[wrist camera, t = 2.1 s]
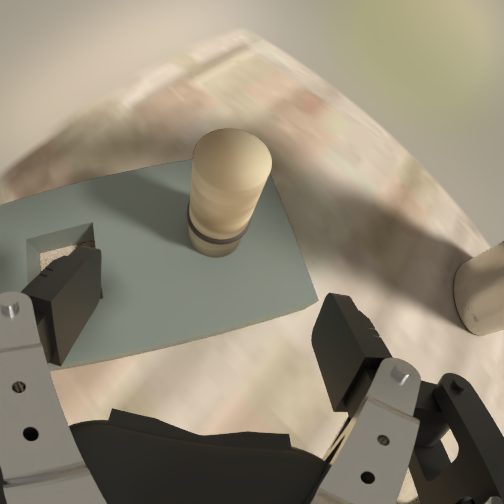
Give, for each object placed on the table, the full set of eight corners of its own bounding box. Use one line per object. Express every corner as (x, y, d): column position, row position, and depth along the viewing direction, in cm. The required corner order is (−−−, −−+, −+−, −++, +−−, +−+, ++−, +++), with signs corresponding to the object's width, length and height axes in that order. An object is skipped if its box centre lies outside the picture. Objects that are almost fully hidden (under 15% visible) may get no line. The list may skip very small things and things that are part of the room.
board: (253, 169, 30) (260, 150, 28) (304, 308, 26) (318, 300, 23) (12, 221, 23) (-1, 205, 21) (25, 375, 19) (8, 373, 16)
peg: (234, 202, 25) (259, 123, 17) (250, 252, 24) (286, 185, 16) (180, 213, 24) (182, 132, 16) (193, 265, 23) (201, 200, 14)
